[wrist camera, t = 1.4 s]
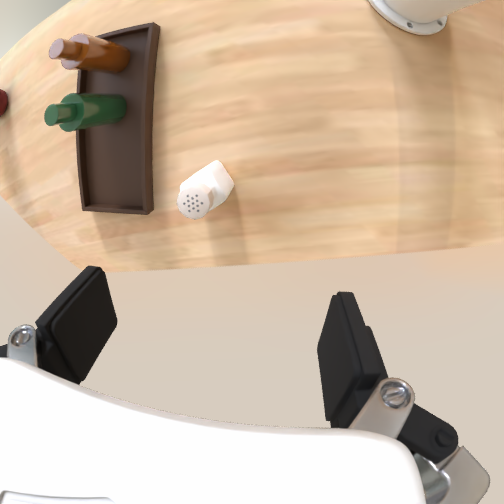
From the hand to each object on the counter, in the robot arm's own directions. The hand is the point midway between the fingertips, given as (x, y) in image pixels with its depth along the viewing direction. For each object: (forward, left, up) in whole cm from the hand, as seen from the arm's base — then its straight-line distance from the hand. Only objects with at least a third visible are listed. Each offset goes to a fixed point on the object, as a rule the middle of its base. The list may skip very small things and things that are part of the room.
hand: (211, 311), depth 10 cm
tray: (-7, -19, -25) cm, 32 cm away
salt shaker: (+1, -5, -25) cm, 25 cm away
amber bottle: (-16, -19, -24) cm, 34 cm away
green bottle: (-9, -19, -24) cm, 32 cm away
